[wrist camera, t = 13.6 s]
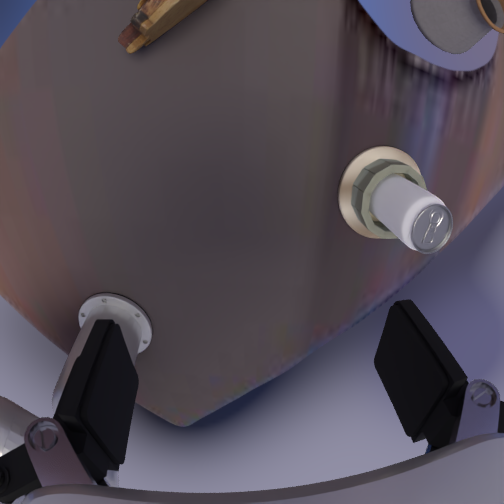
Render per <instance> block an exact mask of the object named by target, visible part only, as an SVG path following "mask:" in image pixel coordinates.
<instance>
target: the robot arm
mask: <svg viewBox="0 0 504 504" xmlns="http://www.w3.org/2000/svg"><path fill="white" fill-rule="evenodd" d="M78 320H79V325H80V327H81V330H80V332H79V334H78V336H77V338H76V340H75V343H74V345H73V347H72V349H71V351H70V353H69V356H68V358H67V360H66V362H65V365H64V367H63V369H62V372H61V374H60V376H59V379H58V381H57V384H56V386H55V389H54V392H53V398H52V406H53V412H54V417H53V418H49V417H42V418H39V417H37V416H35V415H34V414H32V413H30V412H29V411H27V410H25V409H23V408H22V407H20V406H19V405H17V404H15V403H14V402H12V401H10V400H8V399H7V398H5V397H2V396H0V504H504V402H503V401H500V394H499V392H498V390H497V388H496V387H495V386H494V385H493V384H492V383H491V382H489V381H487V380H484V379H475V380H473V381H471V382H470V383H468V381H467V376H466V374H465V373H464V371H463V370H462V368H461V367H460V365H459V364H458V363H457V361H456V360H455V358H454V357H453V355H452V354H451V352H450V351H449V350H448V348H447V347H446V345H445V344H444V343H443V341H442V340H441V338H440V337H439V336H438V334H437V333H436V332H435V330H434V329H433V328H432V326H431V325H430V323H429V322H428V321H427V319H425V317H424V316H423V314H422V313H421V312H420V310H419V309H418V308H417V306H416V305H415V304H414V303H413V301H411V300H402V301H396V302H395V303H394V305H393V306H391V307H390V309H389V313H388V316H387V320H386V323H385V327H384V330H383V333H382V336H381V339H380V342H379V346H378V349H377V352H376V355H375V358H374V365H375V368H376V370H377V372H378V374H379V376H380V378H381V381H382V383H383V385H384V387H385V389H386V391H387V393H388V396H389V397H390V400H391V402H392V404H393V406H394V409H395V410H396V413H397V415H398V417H399V419H400V422H401V424H402V426H403V428H404V431H405V433H406V435H407V436H409V437H410V436H411V438H412V440H413V443H414V442H417V441H420V440H423V439H425V438H426V439H427V441H428V446H427V449H426V452H425V454H424V455H421V456H418V457H415V458H412V459H409V460H406V461H403V462H400V463H397V464H394V465H390V466H387V467H384V468H380V469H377V470H373V471H369V472H366V473H362V474H358V475H353V476H349V477H345V478H340V479H335V480H331V481H326V482H320V483H315V484H309V485H303V486H296V487H288V488H282V489H272V490H261V491H248V492H231V493H179V492H160V491H147V490H135V489H126V488H119V475H118V471H119V464H123V463H124V460H125V454H126V448H127V442H128V436H129V431H130V425H131V419H132V414H133V409H134V404H135V399H136V394H137V389H138V375H137V373H136V370H135V367H134V366H135V362H136V358H137V354H138V353H141V352H142V351H144V350H145V349H146V348H147V347H148V345H149V344H150V341H151V338H152V325H151V322H150V320H149V318H148V316H147V315H146V313H145V312H144V311H143V310H142V309H141V308H140V307H139V306H138V305H137V304H135V303H134V302H133V301H131V300H129V299H127V298H125V297H123V296H120V295H116V294H111V293H101V294H96V295H93V296H91V297H89V298H88V299H87V300H86V301H85V302H84V303H83V305H82V307H81V308H80V311H79V317H78Z"/></svg>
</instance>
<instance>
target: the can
mask: <svg viewBox="0 0 504 504" xmlns="http://www.w3.org/2000/svg"><path fill="white" fill-rule="evenodd" d="M369 211H370V212H371V213H372V214H373V215H374V216H375V217H376V218H377V219H378V220H379V221H380V222H382V223H383V224H384V225H385V226H386V227H387V228H388V229H389V230H390V231H391V232H393V233H394V234H395V235H396V236H397V237H398V238H399V239H400V240H401V241H402V242H403V243H404V244H406V245H407V246H408V247H409V248H411V249H413V250H417V251H419V252H421V253H424V254H430V253H434V252H436V251H438V250H439V249H440V248H442V247H443V246H444V245H445V243H446V242H447V240H448V239H449V237H450V235H451V232H452V228H453V218H452V214H451V212H450V211H449V209H448V208H447V207H446V206H445V204H444V203H443V201H442V200H440V199H439V198H438V197H436V196H435V195H433V194H431V193H430V192H428V191H426V190H425V189H423V188H421V187H420V186H418V185H416V184H414V183H412V182H411V181H409V180H407V179H405V178H403V177H401V176H399V175H398V174H395V173H392V174H390V175H388V176H386V177H385V178H383V179H381V180H380V181H379V182H378V184H377V185H376V187H375V189H374V190H373V192H372V193H371V195H370V204H369Z"/></svg>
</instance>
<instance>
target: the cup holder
mask: <svg viewBox="0 0 504 504" xmlns="http://www.w3.org/2000/svg"><path fill="white" fill-rule="evenodd" d="M392 173H395V174H398V175H399V176H401V177H403V178H405V179H407V180H409V181H411V182H412V183H414V184H416V185H418V186H420V187H421V188H423V189H425V190H426V191H427V189H426V185H425V182H424V179H423V177H422V176H421V173H420V171H419V168H418V166H417V165H416V163H415V162H414V160H413V159H412V158H411V157H410V156H409V155H408V154H406V153H405V152H403V151H401V150H399V149H396V148H393V147H389V146H376V147H372V148H369V149H366V150H364V151H362V152H361V153H359V154H358V155H357V156H356V157H354V158H353V159H352V160H351V162H350V163H349V164H348V165H347V167H346V168H345V170H344V172H343V174H342V176H341V179H340V183H339V187H338V204H339V208H340V211H341V214H342V216H343V218H344V219H345V221H346V222H347V223H348V225H349V226H350V227H351V228H352V229H353V230H354V231H356V232H357V233H359V234H361V235H363V236H366V237H369V238H382V239H391V238H398V237H397V236H396V235H395V234H394V233H393V232H391V231H390V230H389V229H388V228H387V227H386V226H385V225H384V224H383V223H382V222H380V221H379V220H378V219H377V218H376V217H375V216H374V215H373V214H372V213H371V212H370V211H369V204H370V195H371V193H372V192H373V190H374V189H375V187H376V185H377V184H378V182H379V181H380V180H381V179H383V178H385V177H386V176H388V175H390V174H392Z"/></svg>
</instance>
